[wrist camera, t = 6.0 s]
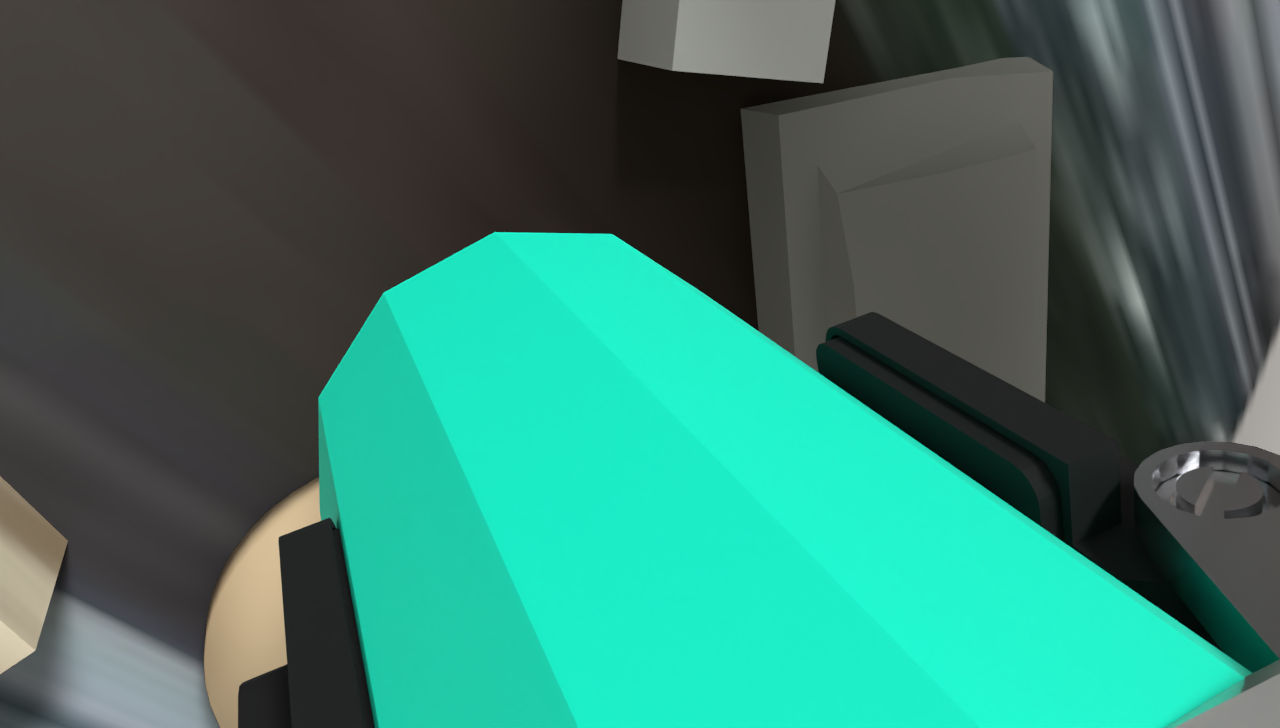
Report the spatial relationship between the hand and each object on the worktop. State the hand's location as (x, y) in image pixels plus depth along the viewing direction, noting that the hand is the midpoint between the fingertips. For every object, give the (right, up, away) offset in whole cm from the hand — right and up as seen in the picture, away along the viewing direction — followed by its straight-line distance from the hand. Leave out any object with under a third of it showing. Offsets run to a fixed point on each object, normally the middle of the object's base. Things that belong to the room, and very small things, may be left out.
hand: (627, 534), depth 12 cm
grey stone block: (+2, +12, +16) cm, 20 cm away
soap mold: (+9, +1, +23) cm, 25 cm away
